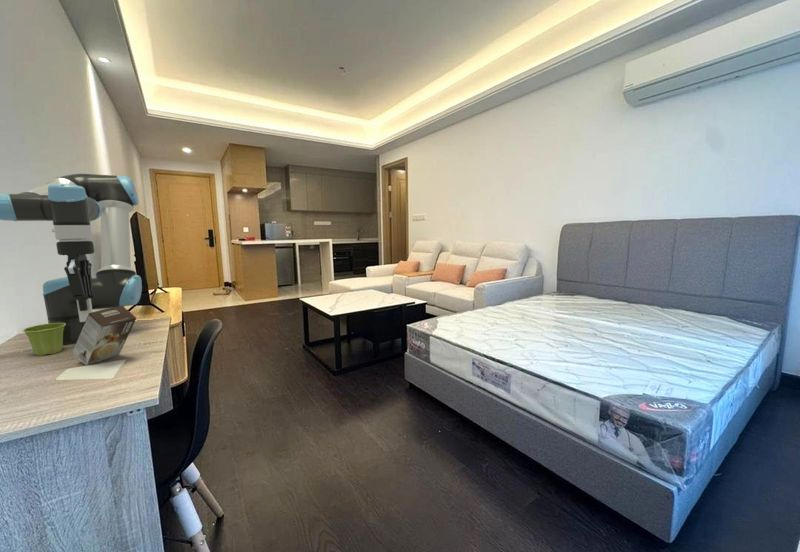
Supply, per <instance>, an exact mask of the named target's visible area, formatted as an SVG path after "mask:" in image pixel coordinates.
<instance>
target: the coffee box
mask: <svg viewBox="0 0 800 552" xmlns="http://www.w3.org/2000/svg"><path fill="white" fill-rule="evenodd" d="M136 320H137V316H135V315H134V314H133V313H132V312H131V311H130V310H128V309H126V308H125V307H123V306H118V307H114V308H104V309H103V310H102V309H99V310H96V311H93V312H91V313H89V314H88V317H87V319H86V322H85V324H84V326H83V329H82V331H81V334H80V336H79V338H78V341H77V343H76V344H74V348H73V350H72V354H73V355H74V356H75V357H77V358H78V360H80V361H81V362H82V364H84V365H85V366H88V365H94V364H97V363H98V362H101V361H105V360H108V359H111V358H113V357H116V356H119V355H120V354H121V352H122V349H123V347H124V345H125V343H126V341H127V339H128V338H129V335H130V333H131V331H132V329H133V326H134V324H135V322H136Z"/></svg>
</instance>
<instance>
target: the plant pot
mask: <svg viewBox="0 0 800 552" xmlns="http://www.w3.org/2000/svg"><path fill="white" fill-rule="evenodd" d="M65 325H66V323H49V324H48V323H43V324H37V325H34V326H29V327H26V328H24V329H22V332H23V333H25V336H27V337H28V340H29V342H30V345H31V347H32V351H33V353H34V355H35V356H39V357H40V356H42V357H43V356H46V355H49V354H50V355H53V354H56V353H59V352H61V351H63V348H64V347H63V346H64V345H63V330H64V326H65Z"/></svg>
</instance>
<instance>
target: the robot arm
mask: <svg viewBox="0 0 800 552" xmlns="http://www.w3.org/2000/svg"><path fill="white" fill-rule="evenodd" d="M138 197H139V196H138V193H137V190H136V186H135V183H134V181H133V179H132V178H131V177H128V176H127V175H126V176H125V175H117V174H116V175H115V174H112V175H111V174H95V173H93V174H92V173H74V174H73V173H71V174H66V175H62V176H60V177H59V176H58V177H57V176H56V177H54V178H51V179H50V180H48V181H47V182H45V184H44V185H40V186H38V187H35V188H32V189H29V190H26V191H23V192H20V193H0V221H8V222H9V221H10V222H11V221H12V222H23V221H24V222H34V221H35V222H36V221H37V222H39V221H41V222H42V221H46V222H47V221H49V222H50V221H52V225H53V228H52V229H51V232H52V233H54V237H55V239H56V240H58V241H57V242H56V250H57V254H58V255H59V256H67V261H66V266H64V271H65V273H66V274H65V275H66V276H65V277H59V278H54V279H50V280H46V281H45V282H43V284H42V291H43V292H42V296H43V299H44V300H43V301H44V306H45V310H46V317H47V321H48V323H47V324H49V323H66V325H65V326H64V330H63V346H69V345H76V343H77V341H78V338H79V336H80V334H81V331H82V329H83V326H84V324H85V322H86V319H87V317H88V314H89V313H91V312H94V310H102V309H103V310H105V309H109V308H114V307H118V306H123V307H124V308H125V307H132V306H135V305H137V304H139V301H140V299H141V296H142V290H143V285H142V277H141V276H140V275H138V274H137V271H135V269H133V268H132V266H131V264H132V263H131V262H132V261H131V240H130V239H131V237H130V213H132V212H133V211H134V206H138V205H139V198H138ZM99 218H100V252H101V253H100V257H101V258H100V261H101V266H100V267H101V268H100V269H98V270H97V271H95V277H93V276H92V263H91V262H90V260H89V259H88V258H87V255H92V254H94V253H95V248H94V242H93V241H92V239H93V232H92V231H93V230H92V225H91V222H92V221H97V220H98V219H99Z"/></svg>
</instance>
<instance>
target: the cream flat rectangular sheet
mask: <svg viewBox="0 0 800 552" xmlns="http://www.w3.org/2000/svg"><path fill="white" fill-rule="evenodd" d="M125 362H126V359H120V360H119V359H118V360H114V361H107V362H101V363H93V364H90V365H87V366H86V365H85V366H77V367H76V366H75V367H70V368H66V369H65V370H64V371H63V372H62V373H61V374H60V375H58V376H57V378H56V379H55V380H56V381H59V380H60V381H61V380H62V381H63V380H64V381H67V380H69V381H70V380H100V379H101V380H104V379H110V380H111V379H114V377H115V376H116V374H117V373H118V372H119V370H120V369H121V368H122V366H123V365H124V363H125Z"/></svg>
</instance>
